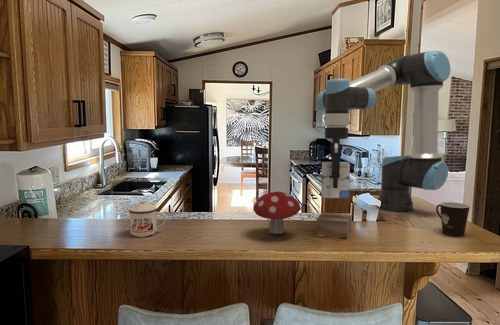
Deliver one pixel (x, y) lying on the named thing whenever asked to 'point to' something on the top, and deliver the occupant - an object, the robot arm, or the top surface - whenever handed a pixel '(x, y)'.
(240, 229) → the top surface
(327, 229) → the taupe block
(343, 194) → the ink box
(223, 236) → the top surface
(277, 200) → the decorative mushroom
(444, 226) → the coffee mug
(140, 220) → the teacup with lid
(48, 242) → the top surface
